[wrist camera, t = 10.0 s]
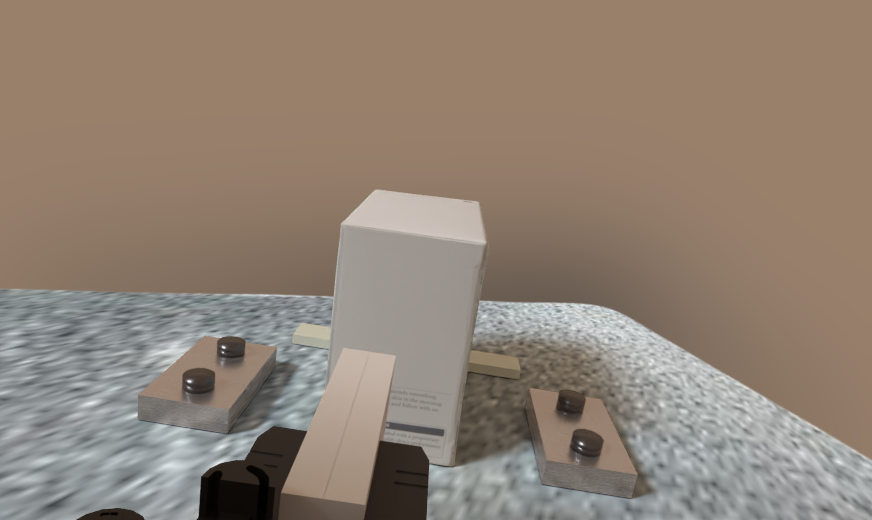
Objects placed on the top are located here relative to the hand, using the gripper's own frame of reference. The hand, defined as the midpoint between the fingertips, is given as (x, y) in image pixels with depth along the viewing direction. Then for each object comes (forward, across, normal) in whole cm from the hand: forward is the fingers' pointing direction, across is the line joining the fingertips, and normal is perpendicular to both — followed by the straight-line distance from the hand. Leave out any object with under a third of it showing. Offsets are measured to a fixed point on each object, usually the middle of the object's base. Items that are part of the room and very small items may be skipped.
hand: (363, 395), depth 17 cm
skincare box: (+13, +1, -7) cm, 15 cm away
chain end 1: (+11, -8, -7) cm, 16 cm away
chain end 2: (+11, +10, -7) cm, 16 cm away
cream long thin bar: (+19, +1, -7) cm, 20 cm away
